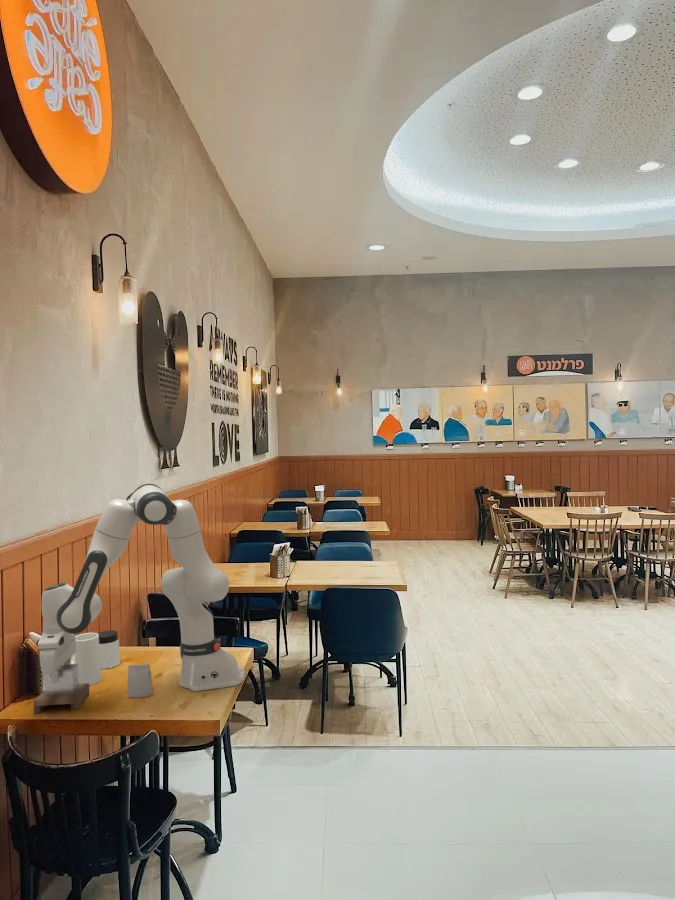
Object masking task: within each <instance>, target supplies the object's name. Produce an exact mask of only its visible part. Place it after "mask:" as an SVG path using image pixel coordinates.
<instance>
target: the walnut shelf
mask: <svg viewBox="0 0 675 900" xmlns="http://www.w3.org/2000/svg"><path fill="white" fill-rule="evenodd" d="M90 695H91V694H90V685H89V683H84V684H79V688H78V690H77V691H76V692H75V693H74V694H63V695H46V696H45V689H44V690H43V691H42V692H41V693H40V694H39V695H38V696H37V697H36V698H35V699H34V700H33V712H34V713H33V714H41V712H42V711H43V710H44V709H45V708H46V707H47V706H55V705H56V706H57V705H58V706H59V705H70V712H77V711H78V710H79V708H80V707H81V706H82V705H83V703H84V702H85V701H86V700H87V699H88V698H87V697H89V696H90ZM86 698H87V699H86ZM85 699H86V700H85Z"/></svg>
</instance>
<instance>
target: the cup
mask: <svg viewBox="0 0 675 900" xmlns="http://www.w3.org/2000/svg"><path fill="white" fill-rule="evenodd" d="M98 633H99V632H85V633H79V634H77V635H75V638H76V646H77V648H76V652H75V653H74V654H73V655H74V664H78V666H77V667H78V683H79V684H84V683H89V686H91V685H95V684H97V682H98V683H100V682H101V681H100V680H102V669H101V666H100V650H99V635H98Z"/></svg>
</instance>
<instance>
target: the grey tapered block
mask: <svg viewBox="0 0 675 900" xmlns="http://www.w3.org/2000/svg"><path fill="white" fill-rule="evenodd" d="M152 678H153V677H152V672H151V667H150V664H132V665H131V664H130V665H128V670H127V693H128V698H129V699H131V697H134V698H143V697H142V696H145V697H144V698H148V697H147V696H149V697H151V695H152V694H153V681H152V680H153V679H152ZM150 694H151V695H150Z"/></svg>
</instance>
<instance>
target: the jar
mask: <svg viewBox="0 0 675 900" xmlns="http://www.w3.org/2000/svg"><path fill="white" fill-rule="evenodd" d="M118 632H119V631H117V630H109V629H108V630H103V631H100V632H97V633H98V635H99V650H100V666H101V670H108V669H107V668H110V669H112V667H113V668H115V667H117V666H119V664H120V665H121V655H120V653H121V651H120V640H119V634H118Z"/></svg>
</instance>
